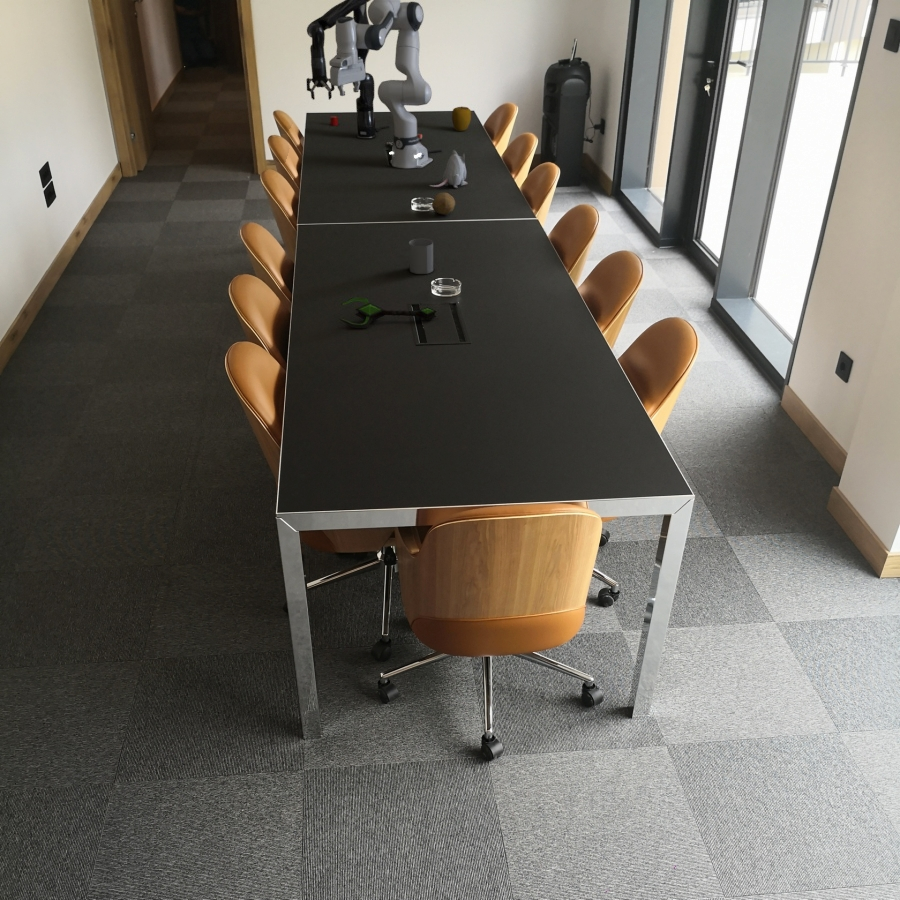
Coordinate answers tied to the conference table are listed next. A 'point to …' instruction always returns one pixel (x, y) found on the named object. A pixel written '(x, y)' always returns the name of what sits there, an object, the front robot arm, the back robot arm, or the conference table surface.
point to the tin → (334, 120)
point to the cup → (421, 256)
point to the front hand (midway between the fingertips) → (349, 93)
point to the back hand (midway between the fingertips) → (321, 99)
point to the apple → (461, 118)
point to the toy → (454, 171)
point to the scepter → (383, 312)
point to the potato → (443, 203)
